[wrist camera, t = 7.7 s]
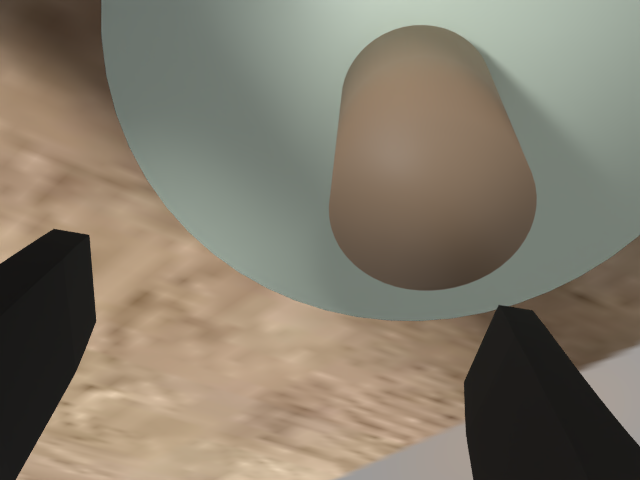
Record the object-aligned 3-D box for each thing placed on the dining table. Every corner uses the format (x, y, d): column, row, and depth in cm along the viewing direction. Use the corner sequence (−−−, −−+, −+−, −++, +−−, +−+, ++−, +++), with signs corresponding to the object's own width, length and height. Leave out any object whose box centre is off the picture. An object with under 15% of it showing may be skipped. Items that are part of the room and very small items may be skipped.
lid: (158, 287, 19) (85, 450, 14) (47, -336, 11) (-217, -444, 6) (625, 317, 18) (713, 499, 13) (897, -325, 10) (1372, -438, 5)
